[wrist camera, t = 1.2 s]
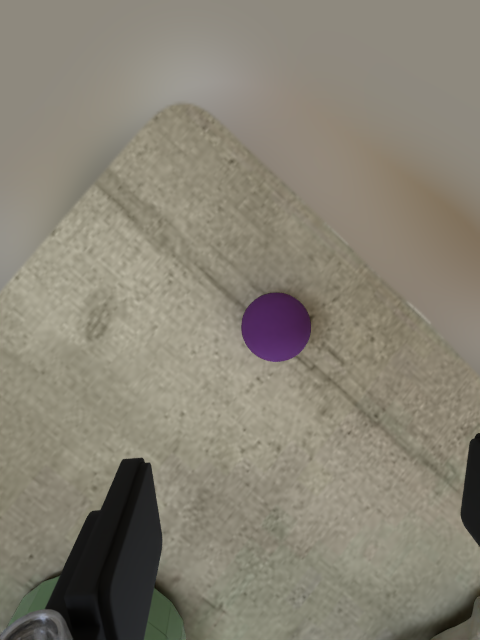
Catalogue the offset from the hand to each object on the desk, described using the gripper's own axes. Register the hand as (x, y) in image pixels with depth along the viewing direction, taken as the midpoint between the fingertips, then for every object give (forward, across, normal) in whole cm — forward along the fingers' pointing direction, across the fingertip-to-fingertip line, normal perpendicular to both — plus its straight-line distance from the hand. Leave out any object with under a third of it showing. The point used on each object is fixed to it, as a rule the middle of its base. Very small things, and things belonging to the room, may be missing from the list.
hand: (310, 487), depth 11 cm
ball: (+14, -1, 0) cm, 14 cm away
